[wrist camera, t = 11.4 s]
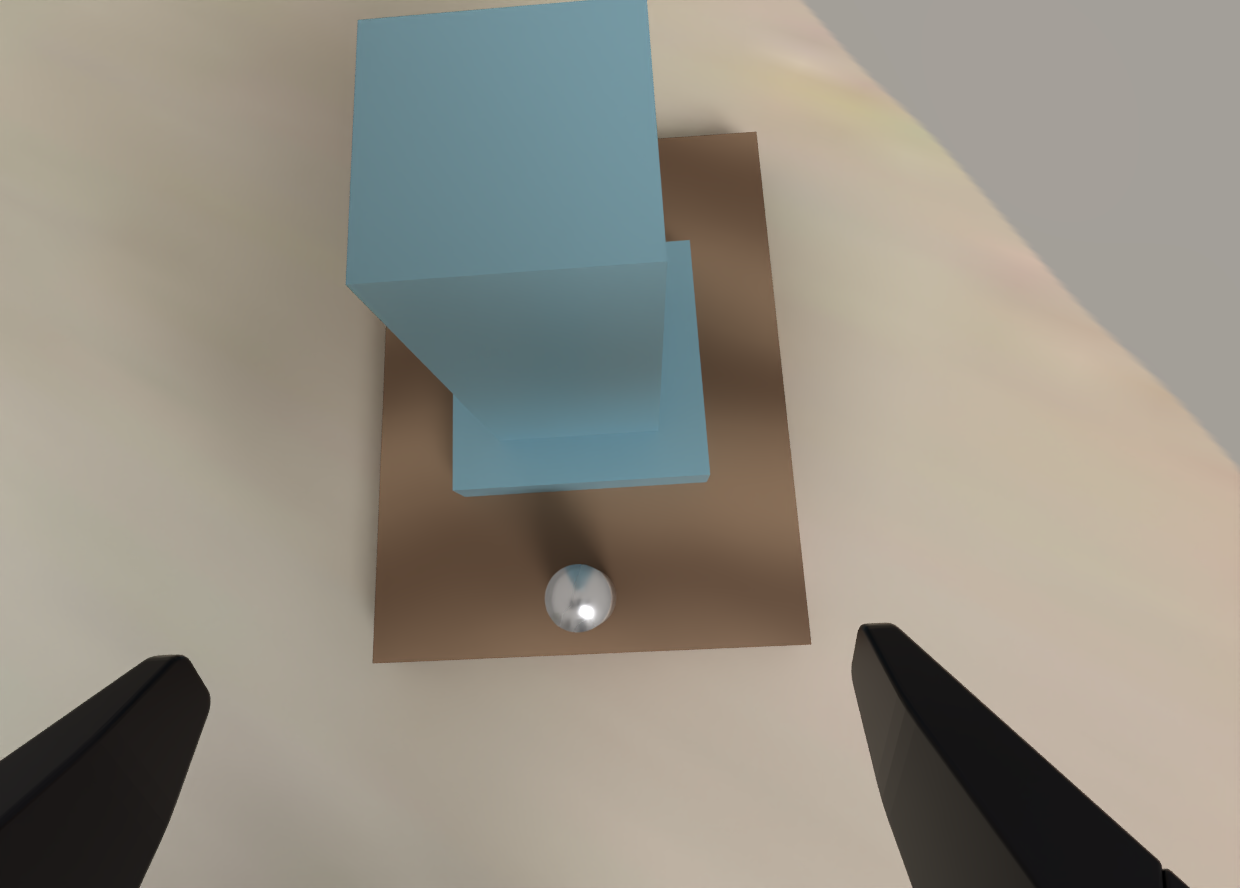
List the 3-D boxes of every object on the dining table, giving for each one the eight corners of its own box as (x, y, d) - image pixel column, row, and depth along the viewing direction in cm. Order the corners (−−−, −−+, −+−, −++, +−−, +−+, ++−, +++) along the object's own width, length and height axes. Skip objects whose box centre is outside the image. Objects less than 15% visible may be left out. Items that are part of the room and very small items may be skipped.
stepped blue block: (706, 482, 19) (774, 345, 8) (464, 497, 19) (245, 380, 9) (687, 260, 20) (725, -82, 10) (464, 276, 20) (279, -42, 10)
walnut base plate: (798, 640, 19) (811, 644, 18) (393, 657, 19) (372, 663, 18) (749, 161, 23) (756, 131, 21) (409, 184, 23) (392, 157, 22)
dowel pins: (617, 626, 18) (612, 631, 15) (559, 628, 18) (545, 633, 15) (597, 161, 21) (590, 105, 19) (548, 165, 21) (536, 109, 19)
